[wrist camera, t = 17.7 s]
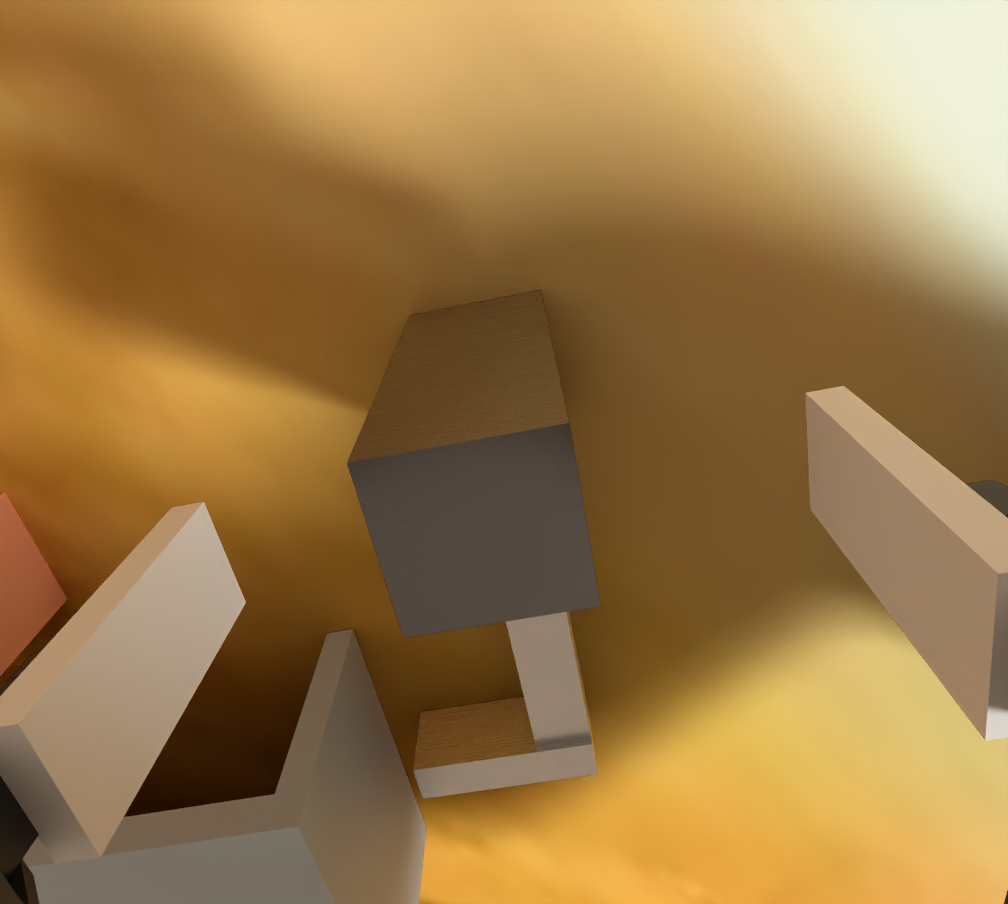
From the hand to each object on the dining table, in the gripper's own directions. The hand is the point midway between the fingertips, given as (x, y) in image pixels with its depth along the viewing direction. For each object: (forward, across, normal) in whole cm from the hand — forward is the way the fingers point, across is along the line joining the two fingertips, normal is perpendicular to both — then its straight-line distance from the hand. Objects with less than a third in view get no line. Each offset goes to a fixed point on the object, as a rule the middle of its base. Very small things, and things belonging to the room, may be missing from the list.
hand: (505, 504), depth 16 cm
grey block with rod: (+8, +2, +6) cm, 10 cm away
